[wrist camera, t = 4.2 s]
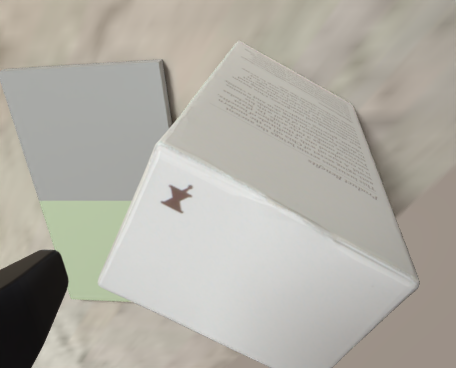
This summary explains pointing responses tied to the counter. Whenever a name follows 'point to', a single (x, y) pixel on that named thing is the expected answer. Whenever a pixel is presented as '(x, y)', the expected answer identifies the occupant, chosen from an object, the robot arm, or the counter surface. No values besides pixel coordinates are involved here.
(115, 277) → the skincare box
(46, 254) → the robot arm
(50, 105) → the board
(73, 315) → the counter surface
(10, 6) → the counter surface
